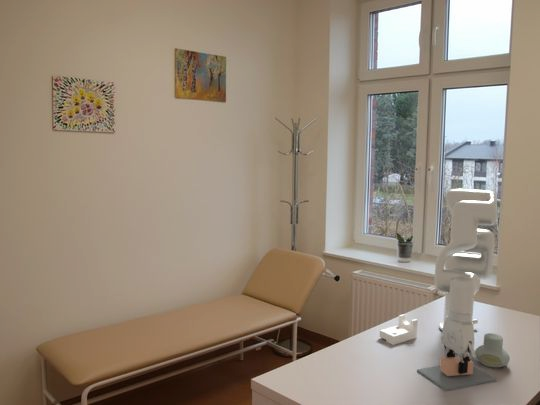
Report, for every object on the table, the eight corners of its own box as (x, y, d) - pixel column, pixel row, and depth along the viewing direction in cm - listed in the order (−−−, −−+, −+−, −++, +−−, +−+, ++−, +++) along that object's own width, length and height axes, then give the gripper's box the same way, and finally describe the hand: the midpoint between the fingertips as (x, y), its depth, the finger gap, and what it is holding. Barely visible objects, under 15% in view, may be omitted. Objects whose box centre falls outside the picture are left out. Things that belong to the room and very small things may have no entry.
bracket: (402, 332, 200) (403, 314, 199) (416, 338, 194) (417, 319, 193) (379, 339, 192) (380, 320, 192) (393, 345, 187) (394, 326, 186)
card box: (439, 369, 164) (440, 358, 163) (464, 367, 166) (465, 356, 165) (447, 376, 160) (448, 364, 159) (472, 373, 161) (473, 362, 161)
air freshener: (509, 363, 173) (512, 335, 171) (507, 372, 166) (509, 344, 164) (476, 355, 178) (478, 329, 177) (472, 364, 171) (474, 336, 170)
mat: (464, 362, 173) (464, 360, 173) (496, 380, 160) (496, 379, 160) (417, 371, 166) (417, 369, 166) (445, 391, 153) (446, 389, 153)
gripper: (433, 308, 167) (429, 359, 169) (470, 326, 151) (466, 383, 153) (451, 305, 169) (447, 356, 172) (489, 323, 154) (485, 379, 156)
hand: (456, 368), depth 163 cm, fingers closed on card box, 5 cm apart
